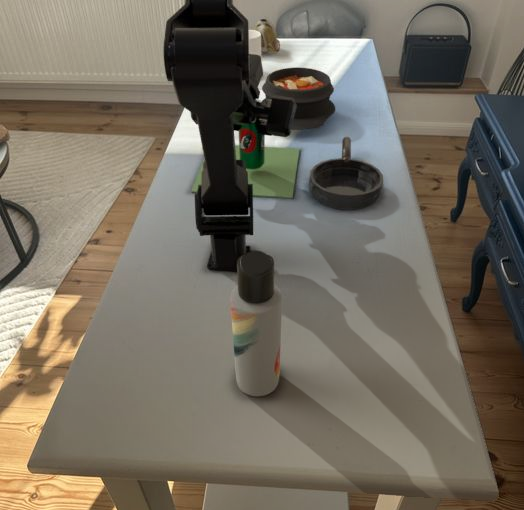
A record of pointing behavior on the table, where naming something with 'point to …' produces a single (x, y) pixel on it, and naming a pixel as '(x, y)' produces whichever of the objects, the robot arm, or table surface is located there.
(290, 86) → the casserole
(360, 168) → the pan
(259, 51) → the mug
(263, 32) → the ceramic sculpture
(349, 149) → the pan handle
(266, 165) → the napkin
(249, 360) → the lotion bottle
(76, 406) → the table surface
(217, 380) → the table surface
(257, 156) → the soda can
